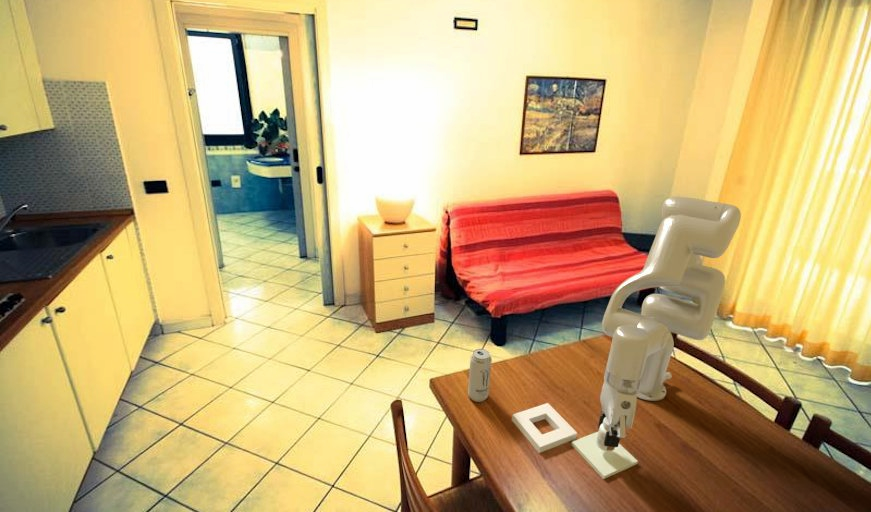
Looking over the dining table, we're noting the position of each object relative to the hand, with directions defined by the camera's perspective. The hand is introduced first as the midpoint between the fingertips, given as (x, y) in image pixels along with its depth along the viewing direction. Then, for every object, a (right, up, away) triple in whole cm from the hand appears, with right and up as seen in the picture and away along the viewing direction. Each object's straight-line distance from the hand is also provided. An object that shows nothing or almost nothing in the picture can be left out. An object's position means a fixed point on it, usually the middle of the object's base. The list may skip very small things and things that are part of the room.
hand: (607, 436), depth 100 cm
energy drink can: (-30, +3, +21) cm, 36 cm away
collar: (-14, -2, +9) cm, 16 cm away
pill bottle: (0, -3, +1) cm, 3 cm away
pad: (0, -5, +2) cm, 6 cm away
